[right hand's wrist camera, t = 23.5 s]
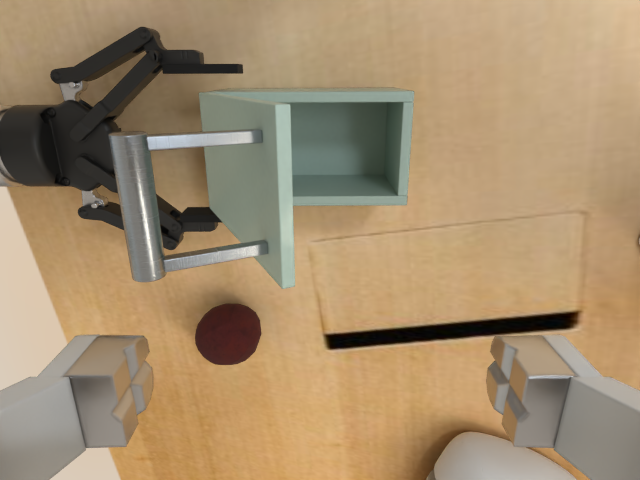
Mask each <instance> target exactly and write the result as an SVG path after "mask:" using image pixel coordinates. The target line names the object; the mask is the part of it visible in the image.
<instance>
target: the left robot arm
mask: <svg viewBox="0 0 640 480" xmlns="http://www.w3.org/2000/svg"><path fill="white" fill-rule="evenodd" d="M143 51H146V53H147V54H146V55H145V56H144V57H143V58H142V59H141V60H140V61H139V62H138V63H137V64H136V65H135V66H134V67H133V69H132V70H131V71H130V72H129V73H128V74H127V75H126V76H125V77H124V78H123V79H122V80H121V81H120V82H119V83H118V84H117V85H116V86H115V87H114V88H113V89H112V90H111V92H110V93H109V94H108V95H107V96H106V97H105V98H104V99H103V100H102V101H100V102H98V103H97V104H96V105H95V106H94V107H92V106H90V105H89V104H87V103H86V102H84V101H82V100H80V93H81V92H83V91H85V90H86V89H87V86H88V83H87V81H92V80H94V79H97V78H99V77H101V76H102V75H104V74H106V73H107V72H109V71H111V70H113V69H114V68H116V67H118V66H119V65H121V64H123V63H125V62H126V61H128V60H130V59H131V58H133V57H135V56H136V55H138V54H140V53H142V52H143ZM162 69H163V74H205V73H243V65H241V64H204V58H203V53H201V52H199V51H196V50H167V49H165V48H164V47H163V45H162V43H161V40H160V35H159V33H158V32H157V31H156V30H154V29H150V28H146V27H140V28H138V29H136V30H134V31H133V32H131V33H129V34H128V35H126V36H124V37H123V38H121V39H119V40H118V41H116V42H114V43H113V44H111V45H109V46H108V47H106V48H104V49H103V50H101V51H99V52H98V53H96V54H94V55H93V56H91V57H89V58H88V59H86V60H84V61H83V62H81V63H79V64H78V65H76V66H74V67H68V68H60V69H54V70H52V72H51V74H50V75H51V79H52V80H53V81H54V82H55V83H57V84H59V85H60V88H61V91H62V94H63V98H64V102H63V103H61V104H59V105H16V106H13V107H12V106H9V105H0V186H14V187H18V186H23V185H25V186H72V187H76V188H78V189H80V190H82V200H83V207H81V208H79V210H78V214H79V216H80V217H81V218H84V219H91V220H101V221H104V222H106V223H109V224H111V225H113V226H116V227H118V228H120V229H122V230H124V225H123V219H122V213H121V207H120V205H119V204H116V203H112V202H108V198H107V197H104V196H101V195H99V194H98V192H97V190H96V188H98V187H100V186H101V185H103V186H105V187H106V188H108V189H109V190H110V191H112V192H116V193H118V189H117V183H116V177H115V171H114V165H113V160H112V154H111V148H110V142H109V136H108V135H109V134H111V133H116V132H121V128H118V126H117V125H116V123H115V122H114V120H115V119H116V118H117V117H118V116H119V115H120V114H121V113H122V112H123V111H124V108H125V107H126V106H127V105H128V104H129V103H130V102H131V101H132V100H133V99H134V98H135V97H136V96H137V95H138V94H139V93H140V92H141V91H142V90H143V89H144V88H145V87H146V86H147V85H148V84H149V83H150V82H151V81H152V80H153V79H154V78H155V76H156V75H157V74H158V73H159V72H160V71H161V70H162ZM156 198H157V205H158V213H159V220H160V227H161V234H162V242H163V247H164V248H166V249H168V250H174V249H175V248H176V247H177V246H178V245H179V243H180V242H181V241H182V240H183V237H184V236H183V234H184V232H197V231H213V230H215V229H216V227H217V226H218V222H222V221H221V220H220V219H219V218H218V217H217V215H216V214H215V213H214V212H213V211H212V210H211V209H210V207H188V208H187V209H186V210H185V211H184V212H183V213H181V212H180V211H178V210H177V209H176V208H174V207H173V206H172V205H170V204H169V203H168V202H166V201H165V200H164V199H162V198H161V197H159V196H158V195H157V194H156Z"/></svg>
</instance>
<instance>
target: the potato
mask: <svg viewBox="0 0 640 480" xmlns="http://www.w3.org/2000/svg"><path fill="white" fill-rule="evenodd" d="M260 336H261V327H260V320H259V318H258V316H257V314H256V312H254V311H253V310H252V309H250V308H249V307H247V306H244V305H241V304H223V305H220V306H217V307H214V308H212V309H211V310H210V311H209V312H207V313H206V314H205V315H204V317H203V318H202V319H201V321H200V322H199V324H198V326H197V330H196V335H195V341H196V346H197V348H198V350H199V352H200V353H201V354H202V356H203V357H204V358H206V359H207V360H208V361H210V362H212V363H214V364H218V365H233V364H238V363H241V362H243V361H245V360H246V359H248V358H249V357H250V356H251V355H252V354H253V353H254V352H255V350H256V348H257V345H258V342H259V339H260Z"/></svg>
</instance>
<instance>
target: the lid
mask: <svg viewBox="0 0 640 480" xmlns="http://www.w3.org/2000/svg"><path fill="white" fill-rule="evenodd" d="M199 101H200V112H201V122H202V132H187V133H170V134H152V135H148V133H147V132H143V131H126V132H116V133H111V134H109V135H108V136H109V142H110V148H111V154H112V160H113V165H114V171H115V177H116V183H117V189H118V195H119V201H120V207H121V213H122V219H123V225H124V231H125V237H126V243H127V249H128V255H129V261H130V267H131V273H132V278H133V279H134V280H135V281H138V282H151V281H155V280H159V279H161V278H163V277H164V276H165V275H166V273H167V272H170V271H175V270H181V269H187V268H192V267H198V266H203V265H209V264H215V263H220V262H226V261H231V260H237V259H243V258H248V257H254V258H255V259H256V260H257V261H258V262H259V263H260V265H261V266H262V267H263V268H264V269H265V270H266V271H267V272H268V273H269V275H270V276H271V277H272V278H273V279H274V280H275V281H276V282H277V283H278V285H279V286H280V287H281V288H282V289H285V288H290V287H294V286H295V263H294V225H293V188H292V151H291V114H290V104H286V103H279V102H272V101H265V100H258V99H251V98H244V97H237V96H230V95H223V94H216V93H209V92H200V93H199ZM198 147H204V154H205V164H206V175H207V185H208V196H209V206H210V209H211V210H212V211H213V212H214V213H215V214H216V215H217V217H218V218H219V219H220V220H221V221H222V222H223V223H224V224H225V225H226V227H227V228H228V229H229V230H230V231H231V232H232V233H233V234H234V236H235V237H236V238H237V239H238V240H239V241H240V242H241V243H240V244H234V245H228V246H222V247H216V248H209V249H203V250H197V251H191V252H185V253H179V254H173V255H167V256H164V249H163V242H162V234H161V227H160V220H159V213H158V205H157V198H156V191H155V183H154V176H153V169H152V162H151V154H150V151H155V150H170V149H184V148H198Z"/></svg>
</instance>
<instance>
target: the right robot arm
mask: <svg viewBox="0 0 640 480" xmlns="http://www.w3.org/2000/svg"><path fill="white" fill-rule="evenodd" d="M639 244H640V238H639ZM149 352H150V351H149V346H148V341H147V339H146V338H145V337H144V336H133V335H79V336H75V337H74V338H73V339H72V340H71V341H70V343H69V344H68V345H67V346H66V347H65V348H64V349H63V350H62V351H61V352H60V353H59V354H58V355H57V356H56V357H55V358H54V360H52V362H51V363H50V364H49V365H48V366H47V367H46V368H45V369H44V370H43V371H42V372H41V373H40V374H39V375H38V376H37V377H29V378H26V379H24V380H22V381H20V382H18V383H16V384H14V385H11V386H9V387H7V388H5V389H3V390H1V391H0V480H49V479H51V478H52V477H53V476H54V475H56V474H57V473H58V472H59V471H61V470H62V469H63V468H64V467H66V466H67V465H68V464H69V463H71V462H72V461H73V460H74V459H75V458H77V457H78V456H79V455H80V454H82V453H83V452H84V451H85V450H86V448H101V447H126V446H127V444H128V442H129V440H130V438H131V437H132V435H133V433H134V431H135V429H136V427H137V425H138V419H137V415H138V414H139V413H141V412H142V411H144V410H145V409H146V408H147V406H148V404H149V402H150V400H151V395H152V391H153V370H152V367H151V366H150V365H149V364H148V363H147V362H146V361H145V359H146V357H147V355H148V354H149ZM490 352H491V354H492V355H493V357H494V359H495V361H494V362H493V363H492V364H491V365H490V366H489V367H488V370H487V379H486V382H487V392H488V396H489V399H490V402H491V404H492V406H493V408H494V409H495V410H496V411H498V412H499V413H501V414H502V415H503V419H502V425H503V427H504V429H505V431H506V433H507V435H508V437H509V438H510V440H511V442H512V444H513V446H514V447H538V448H554V450H555V451H556V452H557V453H559V454H560V455H561V456H562V457H563V458H565V459H566V460H567V461H568V462H570V463H571V464H572V465H573V466H575V467H576V468H577V469H578V470H580V471H581V472H582V473H583V474H584V475H586V476H587V477H588V478H589V479H591V480H640V391H639V390H637V389H635V388H633V387H631V386H629V385H626V384H624V383H622V382H620V381H618V380H616V379H614V378H611V377H603V376H602V375H601V374H600V373H599V372H598V371H597V370H596V369H595V368H594V367H593V366H592V365H591V364H590V363H589V361H588V360H587V359H586V358H585V357H584V356H583V355H582V354H581V353H580V352H579V351H578V350H577V349H576V348H575V347H574V346H573V345H572V343H571V342H570V341H569V340H568V339H567V338H566V337H564V336H562V335H560V334H558V335H534V336H495V337H494V339H493V341H492V345H491V351H490Z"/></svg>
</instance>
